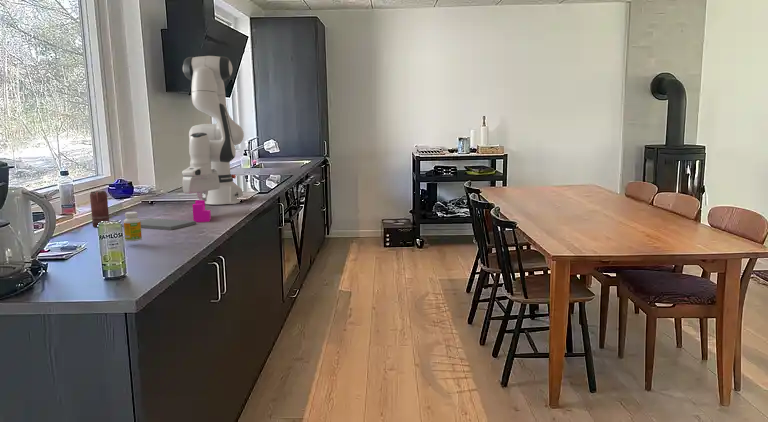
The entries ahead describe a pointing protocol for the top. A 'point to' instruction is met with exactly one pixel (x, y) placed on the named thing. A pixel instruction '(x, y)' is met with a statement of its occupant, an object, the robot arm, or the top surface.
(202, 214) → the toy block
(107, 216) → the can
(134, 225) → the supplement bottle
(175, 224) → the slate pad
